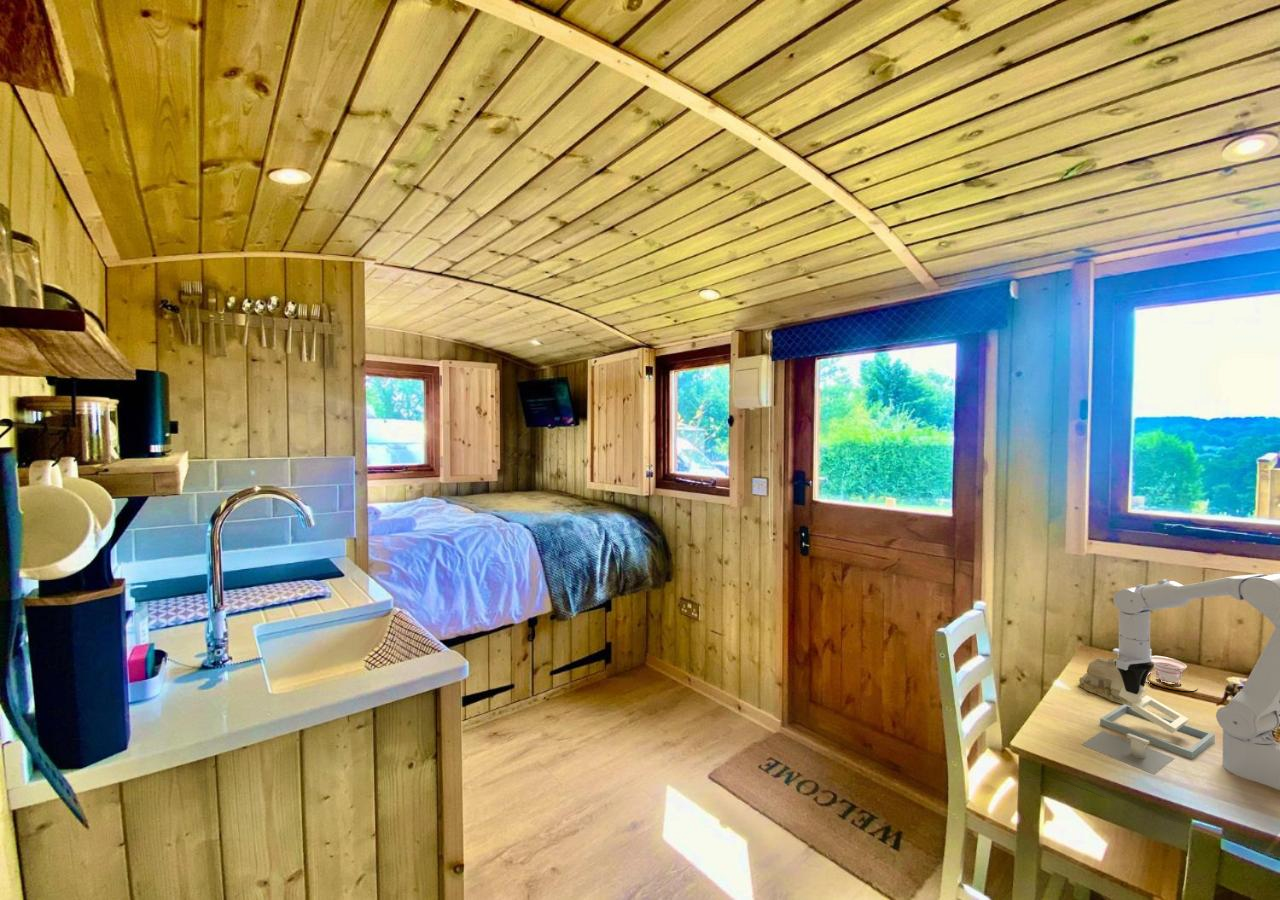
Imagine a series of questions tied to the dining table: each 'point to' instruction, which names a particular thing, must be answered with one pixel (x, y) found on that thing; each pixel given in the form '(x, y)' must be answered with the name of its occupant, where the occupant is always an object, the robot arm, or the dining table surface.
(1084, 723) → the dining table surface
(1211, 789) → the dining table surface
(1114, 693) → the ceramic model
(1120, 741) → the plate
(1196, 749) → the tray
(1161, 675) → the teacup
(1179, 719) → the square frame with tab
